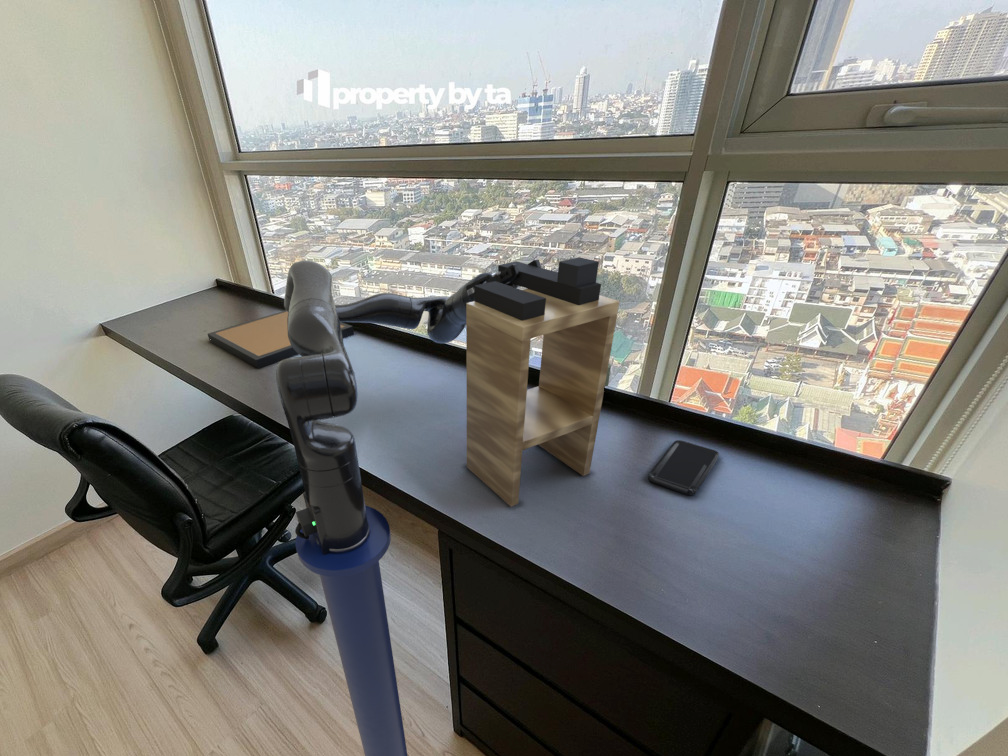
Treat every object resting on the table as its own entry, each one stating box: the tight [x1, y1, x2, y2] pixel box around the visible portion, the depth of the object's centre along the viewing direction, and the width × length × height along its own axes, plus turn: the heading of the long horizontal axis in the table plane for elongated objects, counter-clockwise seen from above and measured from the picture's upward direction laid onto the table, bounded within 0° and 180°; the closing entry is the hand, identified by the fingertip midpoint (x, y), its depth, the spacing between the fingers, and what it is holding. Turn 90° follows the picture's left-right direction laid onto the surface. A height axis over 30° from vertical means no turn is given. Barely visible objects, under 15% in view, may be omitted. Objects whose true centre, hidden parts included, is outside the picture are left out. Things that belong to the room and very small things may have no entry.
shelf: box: [465, 288, 620, 507], centre depth 82 cm, size 18×14×32 cm
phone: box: [648, 439, 720, 496], centre depth 88 cm, size 8×1×15 cm
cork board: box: [207, 309, 355, 370], centre depth 161 cm, size 36×3×35 cm
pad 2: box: [497, 257, 602, 305], centre depth 78 cm, size 4×20×5 cm, turn 27°
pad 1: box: [474, 281, 546, 321], centre depth 72 cm, size 4×12×2 cm, turn 27°
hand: (527, 267), depth 81 cm, fingers closed on pad 2, 4 cm apart
